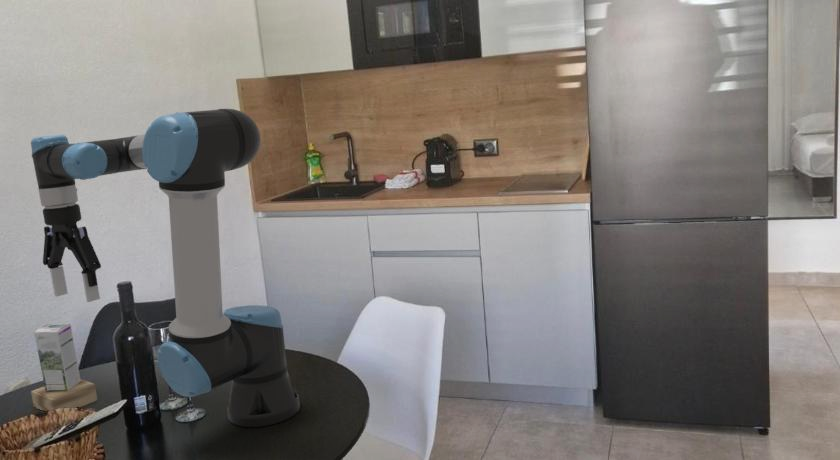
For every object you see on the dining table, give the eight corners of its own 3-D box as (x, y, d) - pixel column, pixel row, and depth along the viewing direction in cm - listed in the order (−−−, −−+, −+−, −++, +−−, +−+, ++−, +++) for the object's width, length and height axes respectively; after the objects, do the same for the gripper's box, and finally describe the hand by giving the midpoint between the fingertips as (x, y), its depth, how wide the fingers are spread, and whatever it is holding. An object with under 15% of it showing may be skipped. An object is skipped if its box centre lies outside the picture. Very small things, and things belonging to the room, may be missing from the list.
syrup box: (81, 381, 179) (71, 322, 176) (67, 391, 173) (56, 330, 170) (59, 382, 180) (48, 322, 177) (44, 392, 174) (32, 331, 171)
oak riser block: (97, 400, 178) (94, 383, 177) (55, 416, 170) (52, 399, 170) (75, 392, 184) (72, 375, 183) (33, 407, 176) (30, 390, 176)
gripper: (107, 203, 166) (123, 298, 170) (48, 201, 181) (63, 288, 185) (74, 209, 160) (91, 307, 164) (16, 207, 175) (33, 297, 179)
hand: (77, 297), depth 174 cm, fingers open, 13 cm apart
